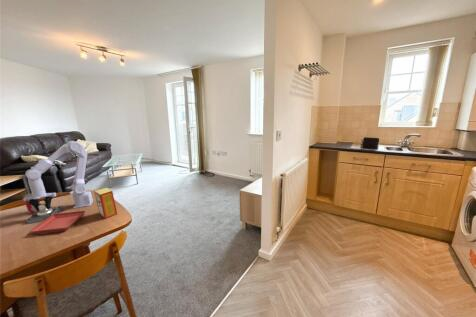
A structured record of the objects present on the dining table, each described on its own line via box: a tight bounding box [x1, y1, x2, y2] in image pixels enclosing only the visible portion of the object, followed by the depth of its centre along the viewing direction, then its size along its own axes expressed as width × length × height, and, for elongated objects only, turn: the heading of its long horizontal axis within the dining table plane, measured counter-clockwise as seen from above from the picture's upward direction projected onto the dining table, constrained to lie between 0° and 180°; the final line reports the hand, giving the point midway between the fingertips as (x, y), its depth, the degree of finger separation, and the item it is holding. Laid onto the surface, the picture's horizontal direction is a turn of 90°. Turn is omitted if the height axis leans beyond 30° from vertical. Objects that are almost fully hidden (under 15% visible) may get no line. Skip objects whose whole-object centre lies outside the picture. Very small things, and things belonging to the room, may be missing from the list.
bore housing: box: [26, 205, 64, 225], centre depth 120 cm, size 12×12×3 cm
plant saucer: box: [28, 210, 86, 235], centre depth 111 cm, size 18×18×3 cm
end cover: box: [37, 201, 53, 217], centre depth 119 cm, size 7×7×7 cm
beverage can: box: [23, 193, 41, 214], centre depth 125 cm, size 6×6×12 cm
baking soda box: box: [94, 187, 118, 220], centre depth 119 cm, size 10×6×16 cm
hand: (44, 209), depth 119 cm, fingers closed on end cover, 4 cm apart
